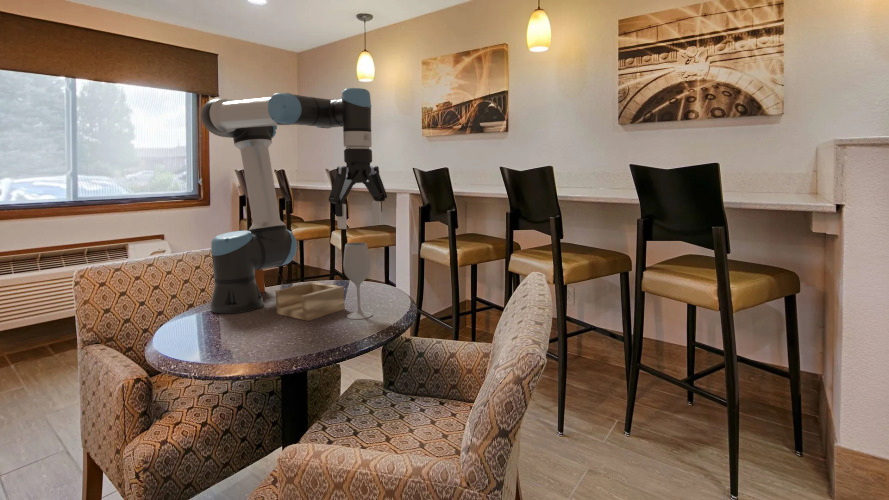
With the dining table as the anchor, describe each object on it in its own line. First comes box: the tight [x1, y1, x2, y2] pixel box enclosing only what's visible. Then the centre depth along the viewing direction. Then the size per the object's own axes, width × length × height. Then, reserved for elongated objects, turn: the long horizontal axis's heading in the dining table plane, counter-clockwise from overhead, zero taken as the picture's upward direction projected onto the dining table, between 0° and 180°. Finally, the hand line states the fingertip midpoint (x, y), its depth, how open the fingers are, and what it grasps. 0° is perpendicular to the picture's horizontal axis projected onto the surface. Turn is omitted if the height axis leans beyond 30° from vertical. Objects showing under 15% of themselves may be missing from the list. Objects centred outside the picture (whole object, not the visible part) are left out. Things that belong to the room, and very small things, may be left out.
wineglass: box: [342, 241, 373, 320], centre depth 143 cm, size 8×8×21 cm
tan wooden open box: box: [274, 281, 346, 322], centre depth 150 cm, size 14×14×7 cm
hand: (360, 226), depth 139 cm, fingers open, 13 cm apart
